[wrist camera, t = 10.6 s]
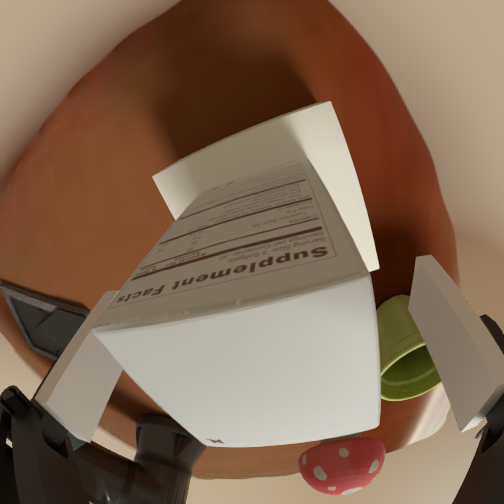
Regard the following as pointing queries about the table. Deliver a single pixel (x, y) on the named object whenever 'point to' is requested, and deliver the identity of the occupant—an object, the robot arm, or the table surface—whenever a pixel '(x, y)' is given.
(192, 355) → the supplement box
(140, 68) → the table surface
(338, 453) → the decorative mushroom
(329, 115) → the plinth
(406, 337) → the plant pot
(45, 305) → the picture frame
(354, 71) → the table surface
